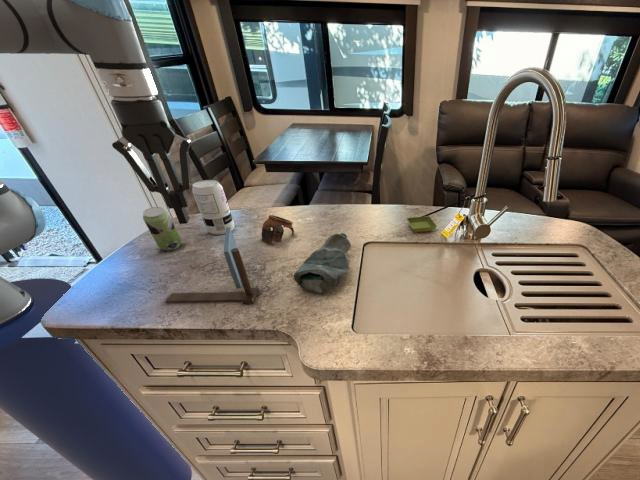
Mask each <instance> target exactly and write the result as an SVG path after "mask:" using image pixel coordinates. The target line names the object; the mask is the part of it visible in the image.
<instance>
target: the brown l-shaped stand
mask: <svg viewBox="0 0 640 480" xmlns="http://www.w3.org/2000/svg"><path fill="white" fill-rule="evenodd" d="M231 253H232V256H233V259H234V262H235V265H236V268H237V270H238V273H239V276H240V279H241V286H242V287H243V290H244V291H229V292H228V291H227V292H173V293H171V294H170V295H169V296H168V297H167V299H165V303H166V304H172V303H174V304H175V303H177V304H179V303H184V304H185V303H225V302H227V303H228V302H231V303H233V302H235V303H236V302H242V304H243V305H254V304H255V302H256V300H257V298H258V296H259V293H260V288H259V287H252V286H251V283H250V280H249V276H248V274H247V270H246V268H245V265H244V261H243V258H242V255H241V252H240V249H239V248H238V247H237V248H234V249H232V250H231Z"/></svg>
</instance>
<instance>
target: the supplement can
mask: <svg viewBox="0 0 640 480" xmlns="http://www.w3.org/2000/svg"><path fill="white" fill-rule="evenodd" d="M191 187H192V189H191V193H192V195H193V197H194V200H195V203H196V206H197V208H198V210H199V213H200V215H201V218H202V221H203V224H204V227H205V230H206V231H207V232H208V233H209V234H211V235H217V236H218V235H225V234H226V228H227V227H231V230H232V231H233V230H234V228H235V223H234V219H233V216H232V213H231V209H230V207H229V204H228V200H227V197H226V193H225V191H224V187H223V186H222V184H220V182H219V181H218V180H216V179H205V180H199V181H196V182H193V183H192V184H191Z"/></svg>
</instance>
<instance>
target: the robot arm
mask: <svg viewBox="0 0 640 480" xmlns="http://www.w3.org/2000/svg"><path fill="white" fill-rule="evenodd" d="M0 54H16V55H17V54H23V55H24V54H25V55H26V54H29V55H30V54H34V55H38V54H43V55H44V54H45V55H50V54H55V55H56V54H59V55H62V54H64V55H84V56H89V58H90V60H91V62H92V64H93V66H94V69H95V70H96V73H97V74H98V77H99V80H100V82H101V84H102V87H103V89H104V91H105V93H106V95H107V96H109V97H111V98H112V99H111V101H110V104H111V107H112V109H113V111H114V113H115V115H116V118H117V120H118V122H119V125H120V126H121V132H120V133H121V136H120V138H118V139H116V140H115V141H114V142H112V144H111V147H112V148H113V149H114V150H116V151H117V152H118V153H119V154H120V155H122V156H123V157H124V159H125V160H126V161H127V163H128V164H129V165H130V166H131V168H132V170H133V171H134V172H135V174H136V175H137V176H138V177H139V179H140V180H141V182H142V183H143V185H144V186H145V187H146V188H147V189H148V191H149V192H151V193H158V194H160V195H161V196H162V197H163V200H164V202H165V205H166V207H167V208H168V209H169V210H170V209H171V210H173V211H174V213H175V217H176V218H177V221H178V223H179V225H185V224H186V225H187V224H188V223H189V220H190V217H189V214H188V211H187V209H186V208H188V205H189V201H188V198H187V195H186V192H185V191H188V190H190V189H191V187H192V175H191V173H192V172H191V165H190V163H191V162H190V151H189V150H190V147H191V144H192V140H191V139H190V138H188V137H183V136H181V135H179V134H177V133H176V131H175V129H174V128H173V127H172V126H171V124H170V122H169V119H168V117H167V114H166V111H165V108H164V106H163V103H162V100H160V99H159V98H157V96H158V94H159V92H158V89H157V87H156V83H155V81H154V79H153V76H152V74H151V70H150V68H149V66H148V63H147V61H146V59H145V55H144V52H143V50H142V47H141V44H140V40H139V37H138V35H137V32H136V28H135V26H134V22H133V18H132V16H131V15H130V13H129V11H128V8H127V5H126V3H125V1H124V0H0ZM174 142H175V144H176V145H175V146H176V147H177V149H179V153H178V154H179V164H180V173H181V178H180V175H179V173H178V170H177V168H176V165H175V162H174V159H173V157H172V152H171V149H172V147H173V144H174ZM132 146H133V147H134V148H136V149H137V150H138V151H140V152H141V153H142V155H143V158H144V160H146V162H147V164H148V167H149V170H150V171H151V173H150V172H149V170H148V168H147V167H146V166H145V164H144V162H142V160H141V159H140V157H139V156H138V155H137V153H136V152H135V151H134V149H132V148H133V147H132ZM158 156H159V158H160V160H161V161H162V164H163V166H164V169H165V171H166V174H167V176H168V179H169V182H170V184H171V186H172V189H173V190H170V189H171V186H169V183H168V181H167V178H166V176H165V173H164V171H163V169H162V166H161V164H160V161H159V159H158ZM46 226H47V220H46V216H45V213H44V212H43V209H42V208H41V207H40V206H39V204H38V202H36V201H35V200H34V199H33V198H32V197H30V196H27V195H26V193H24V192H22V191H20V190H18V189H16V188H11V187H8V186H7V184H6V183H5V182H4V181H2V180H0V256H2V255H4V254H6V253H8V252H10V251H12V250H13V249H16V248H17V247H20V246H22V245H25V244H28V243H30V242H32V241H33V240H34V239H35V238H37V237H39V236H40V235H41V234H42V233H43V232H45V228H46ZM11 282H12V281H9V280H7V279H6V278H4V277H2V276H0V327H2V326H5V325H7V324H9V323H11V322H13V321H14V320H16V319H18V318H19V317H21V316H22V315H24V314H25V313H26V312H27V311H29V310H30V308H31V307H32V306H33V303H34V300H33V298H32V297H31V296H30V295H29V294H28V293H27V292H26V291H24V290H23V289H21V288H19V287H17V286H16V285H14V284H12V283H11Z"/></svg>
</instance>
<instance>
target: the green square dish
mask: <svg viewBox="0 0 640 480" xmlns="http://www.w3.org/2000/svg"><path fill="white" fill-rule="evenodd" d="M406 221H407V223H408V224H409V226H410V228H411V229H412V231H413V232H414V233H420V232H421V233H422V232H432V231H435V229H437V227H438V225H437V224H436V223H435V221H434V219H433V218H432V217H431V216H430V215H425V216H413V217H411V216H409V217H406Z"/></svg>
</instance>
